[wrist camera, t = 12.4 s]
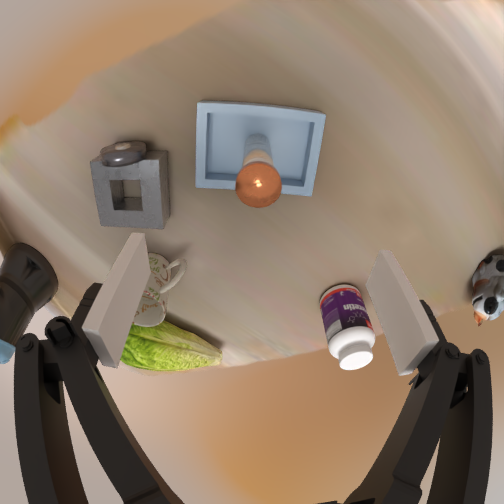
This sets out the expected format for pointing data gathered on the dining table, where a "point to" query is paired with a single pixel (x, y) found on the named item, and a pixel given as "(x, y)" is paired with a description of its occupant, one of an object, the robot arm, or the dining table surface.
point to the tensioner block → (131, 168)
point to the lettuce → (167, 349)
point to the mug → (157, 290)
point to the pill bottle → (347, 326)
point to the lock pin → (258, 174)
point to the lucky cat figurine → (488, 289)
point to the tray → (257, 122)
